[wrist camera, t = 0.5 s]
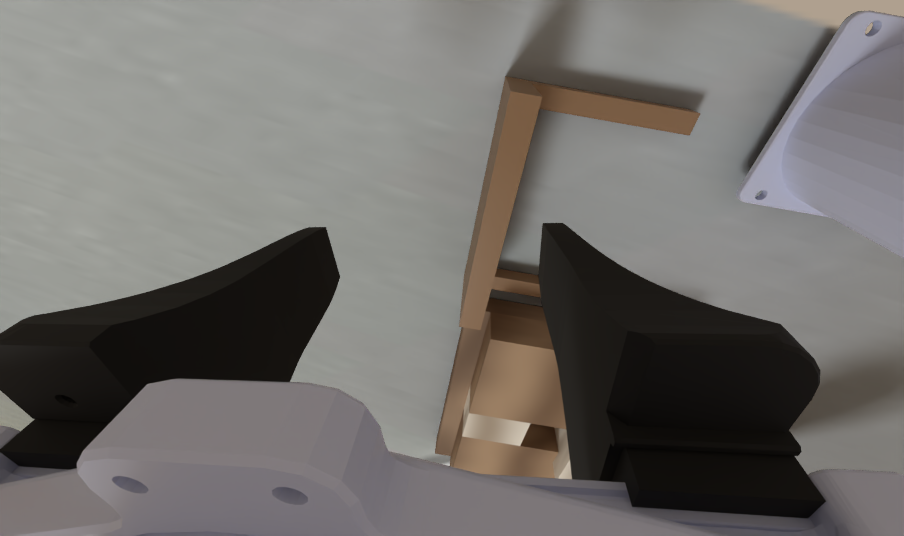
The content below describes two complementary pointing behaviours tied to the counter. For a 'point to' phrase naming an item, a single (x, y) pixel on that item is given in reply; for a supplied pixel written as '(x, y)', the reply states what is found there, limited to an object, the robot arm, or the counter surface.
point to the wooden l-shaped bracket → (507, 169)
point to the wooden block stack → (506, 398)
